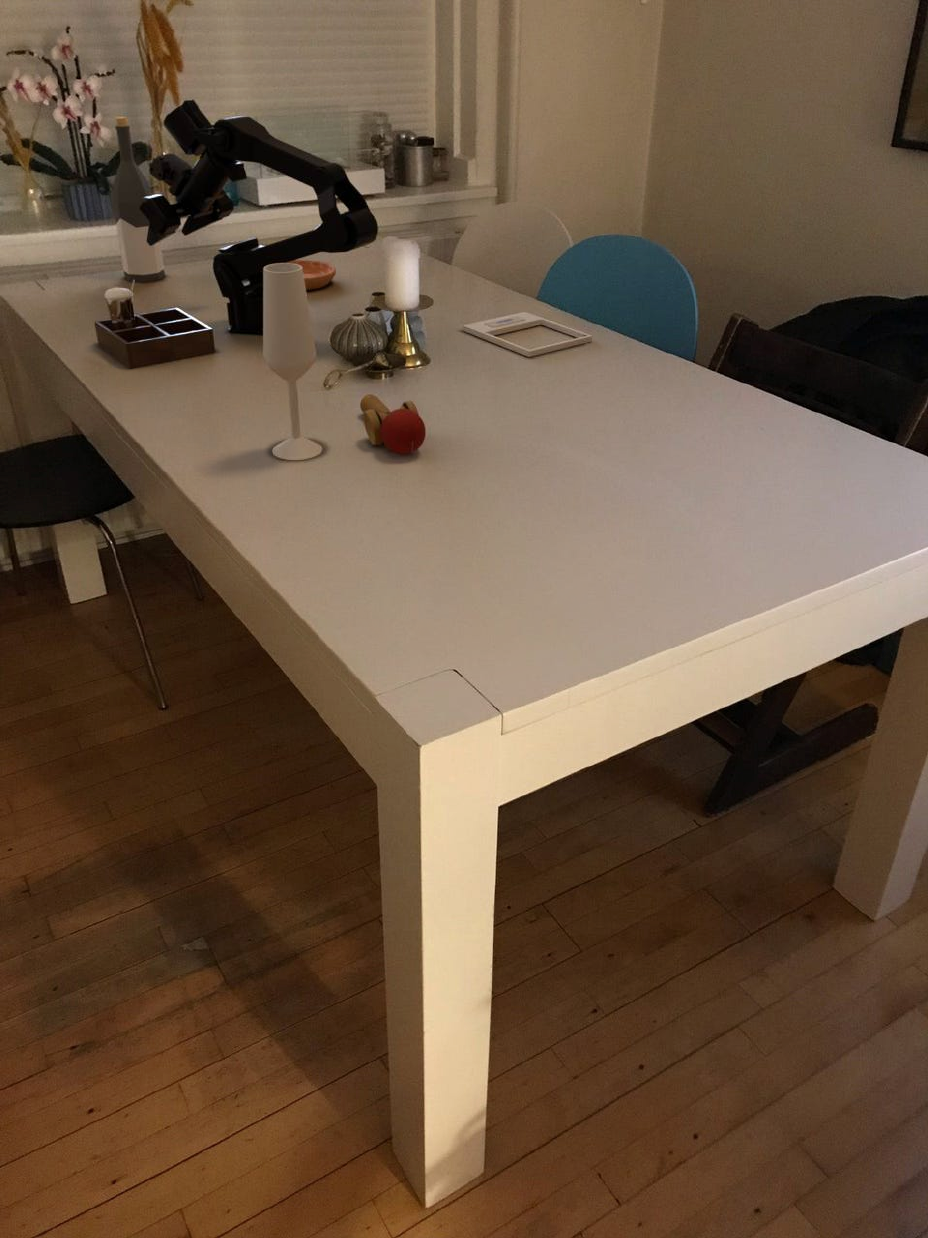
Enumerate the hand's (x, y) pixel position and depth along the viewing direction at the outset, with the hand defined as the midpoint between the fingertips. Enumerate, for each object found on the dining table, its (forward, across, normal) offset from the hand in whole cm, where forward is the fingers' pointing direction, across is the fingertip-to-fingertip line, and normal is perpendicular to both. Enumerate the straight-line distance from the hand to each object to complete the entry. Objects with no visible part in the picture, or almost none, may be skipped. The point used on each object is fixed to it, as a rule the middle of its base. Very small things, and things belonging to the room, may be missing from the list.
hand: (166, 238), depth 185 cm
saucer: (+5, -29, +14) cm, 33 cm away
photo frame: (-34, -20, +54) cm, 67 cm away
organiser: (+2, +17, +17) cm, 24 cm away
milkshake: (+5, +18, +13) cm, 23 cm away
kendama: (-36, +31, +55) cm, 73 cm away
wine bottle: (+26, -17, -7) cm, 32 cm away
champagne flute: (-30, +41, +49) cm, 71 cm away
